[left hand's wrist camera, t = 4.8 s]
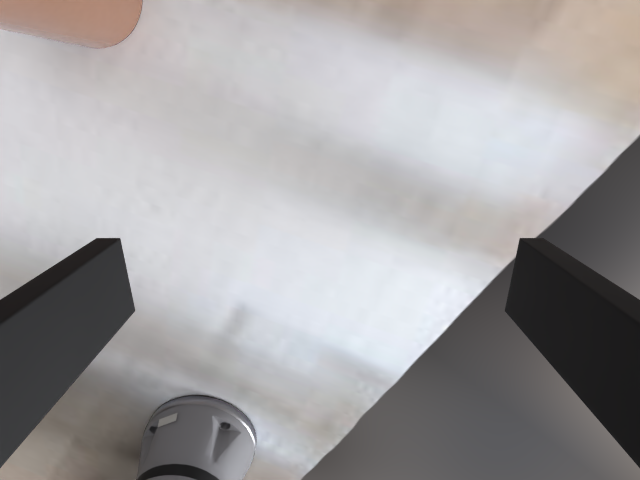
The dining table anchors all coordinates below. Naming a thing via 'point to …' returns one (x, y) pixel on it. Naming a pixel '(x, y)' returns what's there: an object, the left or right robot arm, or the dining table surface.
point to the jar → (72, 20)
